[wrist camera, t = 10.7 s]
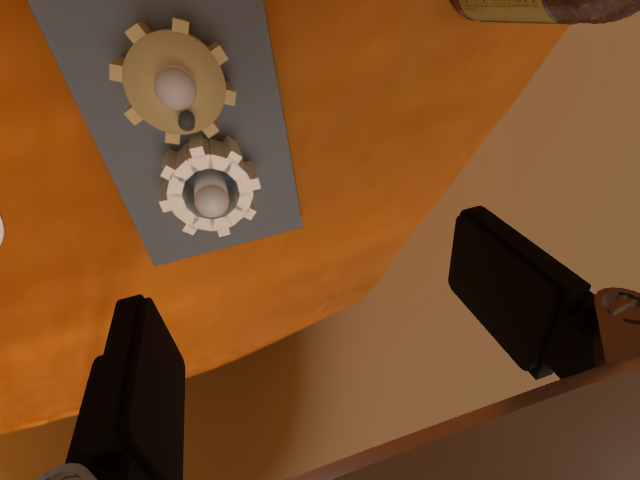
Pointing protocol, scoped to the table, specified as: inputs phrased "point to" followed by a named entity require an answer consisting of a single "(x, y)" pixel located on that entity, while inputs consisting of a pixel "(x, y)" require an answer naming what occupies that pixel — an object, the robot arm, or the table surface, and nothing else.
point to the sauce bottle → (547, 11)
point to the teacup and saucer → (1, 230)
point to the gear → (202, 157)
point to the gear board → (146, 143)
